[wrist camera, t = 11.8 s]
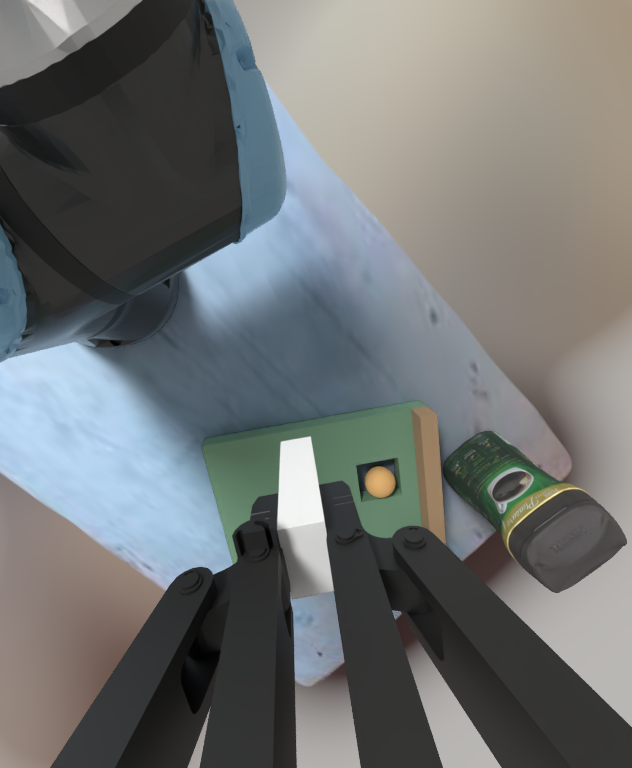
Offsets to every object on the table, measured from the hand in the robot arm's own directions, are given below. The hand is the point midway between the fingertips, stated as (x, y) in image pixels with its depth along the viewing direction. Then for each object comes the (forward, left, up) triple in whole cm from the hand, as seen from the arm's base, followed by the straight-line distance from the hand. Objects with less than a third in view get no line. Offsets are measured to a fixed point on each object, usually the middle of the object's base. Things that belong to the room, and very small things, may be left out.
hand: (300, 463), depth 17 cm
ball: (+18, -6, -24) cm, 31 cm away
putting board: (+13, -11, -26) cm, 31 cm away
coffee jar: (+29, +3, -27) cm, 39 cm away
